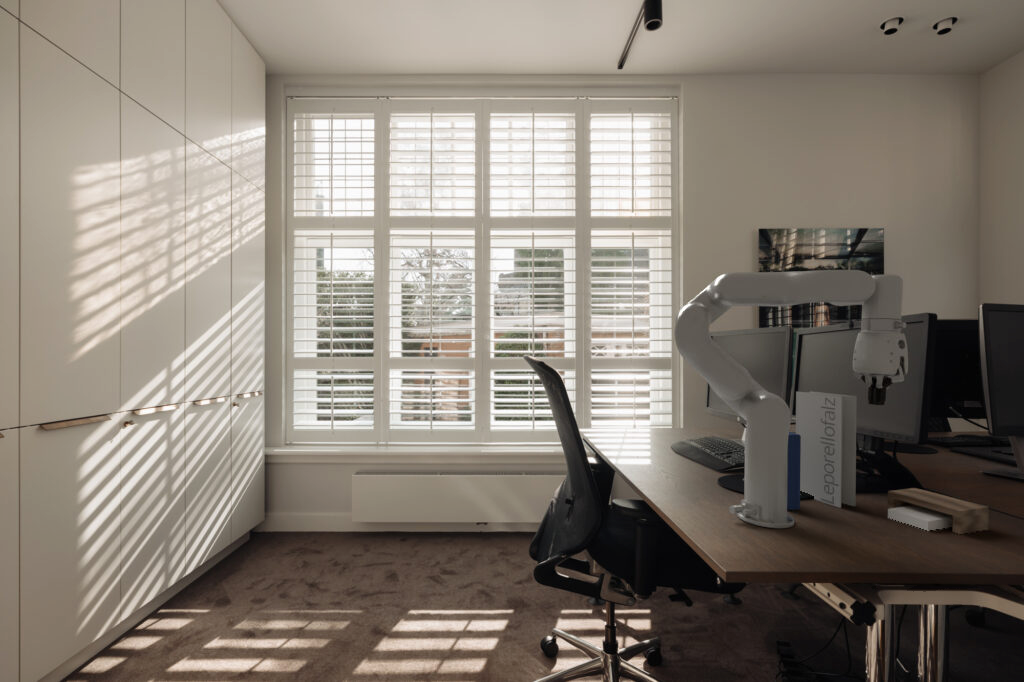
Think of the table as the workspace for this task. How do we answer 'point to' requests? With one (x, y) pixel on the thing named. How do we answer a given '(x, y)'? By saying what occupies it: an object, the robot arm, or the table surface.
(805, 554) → the table surface
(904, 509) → the white sponge pad
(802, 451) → the brochure
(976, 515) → the overhang shelf
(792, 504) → the electronic device
